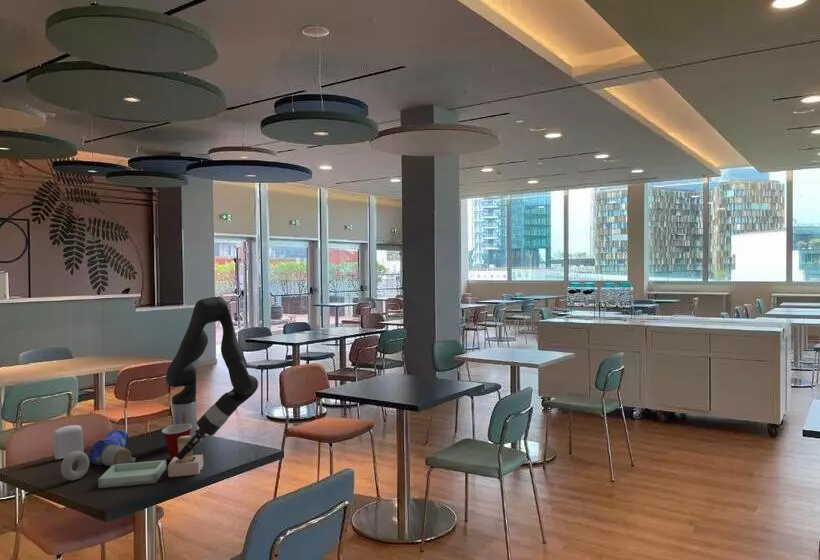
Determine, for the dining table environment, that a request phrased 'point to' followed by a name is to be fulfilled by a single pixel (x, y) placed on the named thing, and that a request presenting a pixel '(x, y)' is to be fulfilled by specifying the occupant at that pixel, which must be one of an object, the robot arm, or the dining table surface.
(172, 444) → the plastic cup
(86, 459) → the donut
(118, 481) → the tray
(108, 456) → the ceramic mug
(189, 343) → the robot arm
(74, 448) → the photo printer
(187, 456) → the dowel
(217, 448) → the dining table surface
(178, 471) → the socket block
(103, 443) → the pencil case
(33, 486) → the dining table surface
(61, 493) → the dining table surface
